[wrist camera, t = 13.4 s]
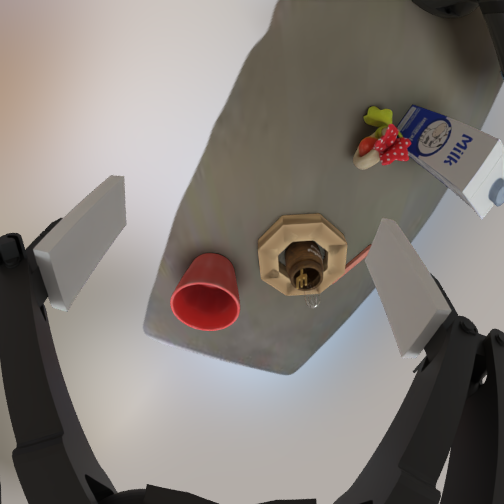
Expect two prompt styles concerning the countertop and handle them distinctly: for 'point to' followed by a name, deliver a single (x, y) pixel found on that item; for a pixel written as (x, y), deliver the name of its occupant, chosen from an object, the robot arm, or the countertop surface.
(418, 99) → the countertop surface
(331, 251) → the octagonal ring
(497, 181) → the milk carton
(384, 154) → the bird rattle
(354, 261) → the pink stick
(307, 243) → the utensil holder
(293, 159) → the countertop surface
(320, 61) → the countertop surface
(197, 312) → the flower pot
